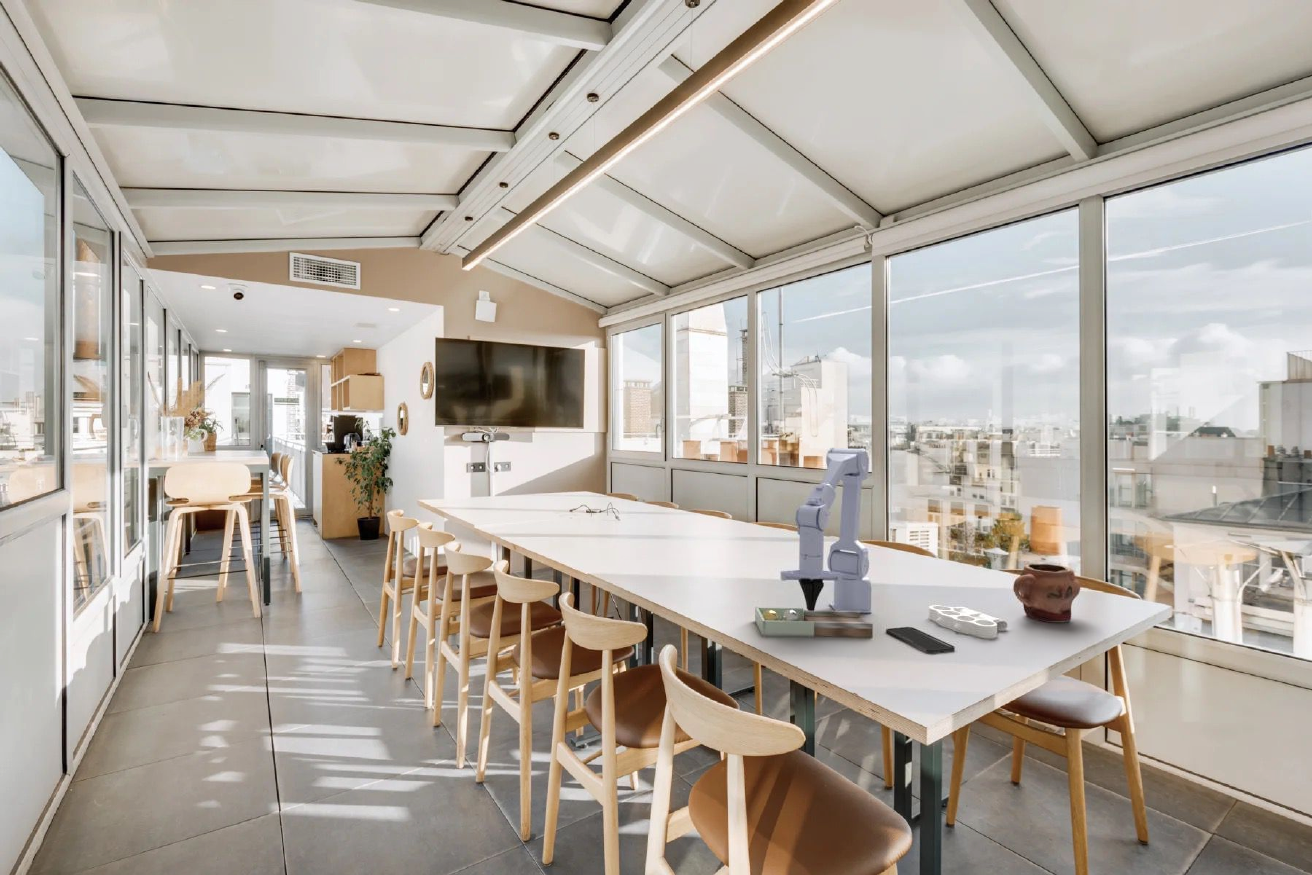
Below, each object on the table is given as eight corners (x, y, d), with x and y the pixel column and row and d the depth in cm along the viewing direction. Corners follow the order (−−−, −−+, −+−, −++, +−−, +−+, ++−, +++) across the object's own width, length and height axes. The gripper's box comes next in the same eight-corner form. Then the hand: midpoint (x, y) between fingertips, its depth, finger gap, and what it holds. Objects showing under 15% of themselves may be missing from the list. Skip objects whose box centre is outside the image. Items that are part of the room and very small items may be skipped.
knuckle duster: (1019, 635, 146) (976, 642, 141) (956, 614, 163) (915, 620, 157) (1019, 621, 146) (976, 628, 141) (957, 602, 163) (916, 607, 157)
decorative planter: (1039, 630, 149) (1040, 574, 149) (995, 616, 160) (996, 564, 160) (1092, 622, 157) (1094, 568, 156) (1047, 609, 168) (1048, 559, 168)
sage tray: (802, 621, 153) (802, 607, 153) (813, 637, 142) (814, 622, 142) (755, 620, 153) (755, 606, 153) (762, 636, 142) (762, 621, 142)
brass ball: (778, 620, 149) (774, 605, 149) (781, 626, 145) (776, 611, 145) (763, 625, 149) (758, 610, 149) (766, 631, 146) (761, 616, 145)
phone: (911, 626, 148) (957, 647, 134) (910, 631, 148) (957, 652, 134) (883, 628, 146) (927, 650, 132) (883, 633, 146) (927, 655, 132)
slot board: (858, 623, 152) (859, 610, 152) (872, 637, 142) (872, 623, 142) (803, 622, 152) (803, 609, 152) (812, 635, 142) (813, 622, 142)
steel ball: (786, 628, 149) (800, 621, 149) (788, 630, 145) (803, 622, 145) (778, 613, 150) (792, 606, 150) (780, 614, 146) (795, 607, 146)
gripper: (784, 557, 143) (783, 614, 143) (846, 558, 143) (845, 615, 143) (779, 551, 150) (778, 605, 151) (837, 552, 150) (836, 606, 150)
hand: (810, 609), depth 147 cm, fingers closed
